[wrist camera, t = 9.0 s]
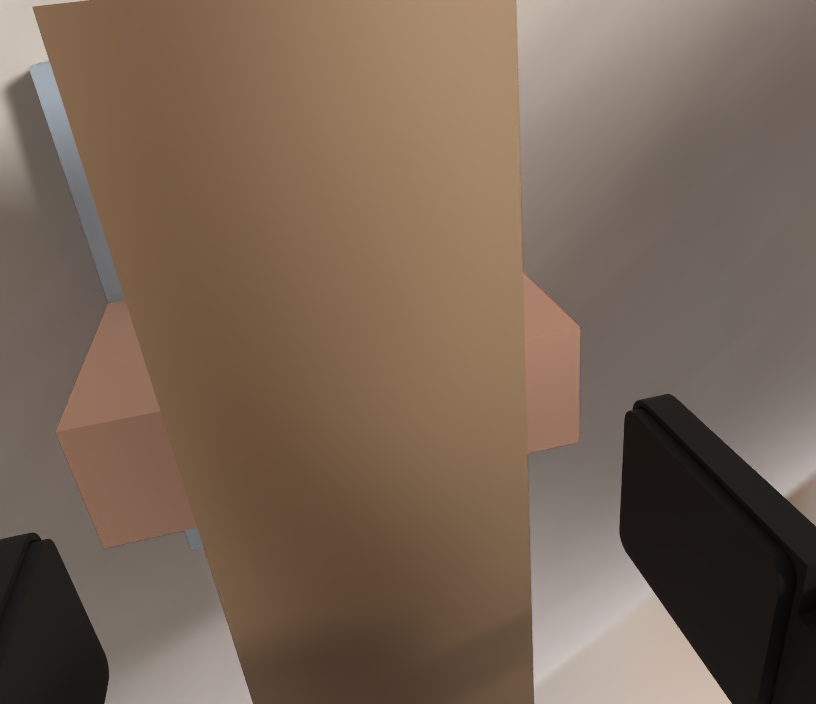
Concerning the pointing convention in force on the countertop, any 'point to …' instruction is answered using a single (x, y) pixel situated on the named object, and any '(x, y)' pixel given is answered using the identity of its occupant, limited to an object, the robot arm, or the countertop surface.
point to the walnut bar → (328, 320)
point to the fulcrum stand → (139, 411)
